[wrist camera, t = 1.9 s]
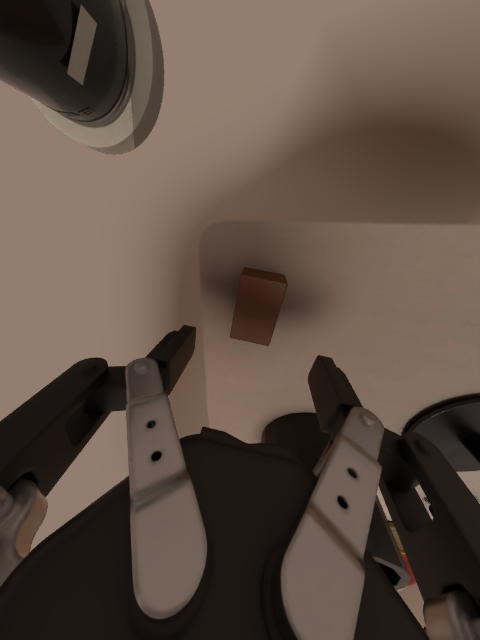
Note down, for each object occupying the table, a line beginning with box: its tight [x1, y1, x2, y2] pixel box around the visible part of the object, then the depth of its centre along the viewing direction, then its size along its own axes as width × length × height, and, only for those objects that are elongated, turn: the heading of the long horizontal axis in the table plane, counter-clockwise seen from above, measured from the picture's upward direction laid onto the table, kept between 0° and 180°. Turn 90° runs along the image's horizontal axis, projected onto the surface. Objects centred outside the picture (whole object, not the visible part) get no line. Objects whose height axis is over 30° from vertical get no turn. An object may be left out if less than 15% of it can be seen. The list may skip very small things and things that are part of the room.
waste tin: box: [261, 413, 411, 590], centre depth 24 cm, size 14×14×12 cm
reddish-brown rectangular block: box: [230, 267, 288, 346], centre depth 18 cm, size 6×4×3 cm, turn 170°
